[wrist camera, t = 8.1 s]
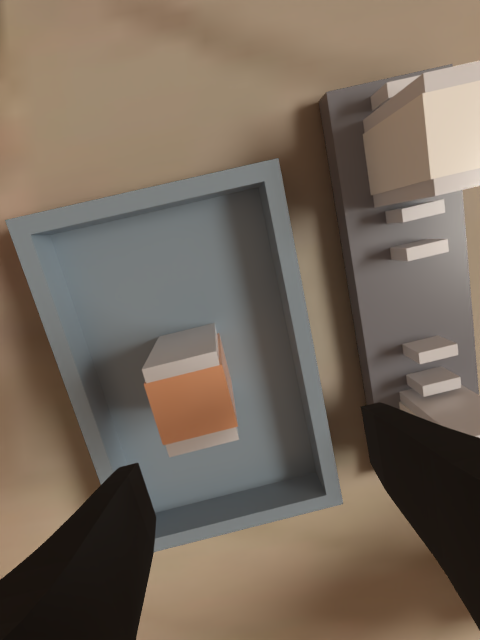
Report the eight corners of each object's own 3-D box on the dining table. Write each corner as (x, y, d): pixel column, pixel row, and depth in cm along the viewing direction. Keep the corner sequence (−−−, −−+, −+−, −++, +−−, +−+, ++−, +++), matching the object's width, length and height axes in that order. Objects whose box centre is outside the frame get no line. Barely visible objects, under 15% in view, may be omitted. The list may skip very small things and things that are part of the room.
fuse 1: (435, 193, 18) (517, 176, 13) (372, 208, 18) (432, 196, 13) (426, 105, 17) (511, 53, 12) (360, 120, 17) (420, 73, 12)
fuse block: (469, 446, 23) (505, 474, 20) (377, 470, 23) (399, 501, 20) (436, 75, 18) (477, 46, 15) (318, 101, 18) (338, 77, 15)
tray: (328, 475, 22) (343, 503, 20) (136, 523, 22) (127, 558, 20) (269, 168, 18) (278, 158, 16) (32, 222, 18) (5, 220, 16)
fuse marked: (234, 391, 20) (241, 439, 15) (177, 405, 20) (166, 458, 15) (216, 322, 19) (218, 350, 14) (157, 336, 19) (139, 370, 14)
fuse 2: (459, 441, 21) (532, 501, 16) (406, 454, 21) (464, 519, 16) (452, 378, 20) (529, 422, 16) (397, 392, 20) (456, 440, 15)
